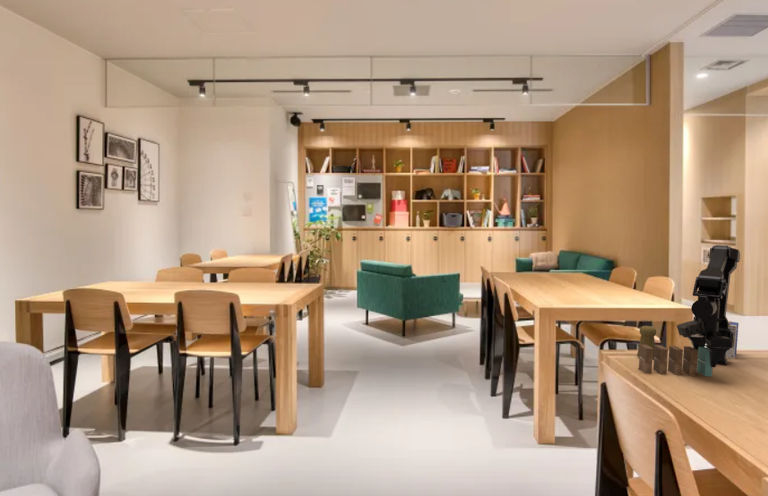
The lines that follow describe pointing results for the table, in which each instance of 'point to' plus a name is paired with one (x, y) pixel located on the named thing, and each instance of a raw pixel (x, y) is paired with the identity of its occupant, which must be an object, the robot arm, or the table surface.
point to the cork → (647, 338)
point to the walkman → (732, 351)
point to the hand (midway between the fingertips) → (705, 362)
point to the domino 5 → (704, 362)
